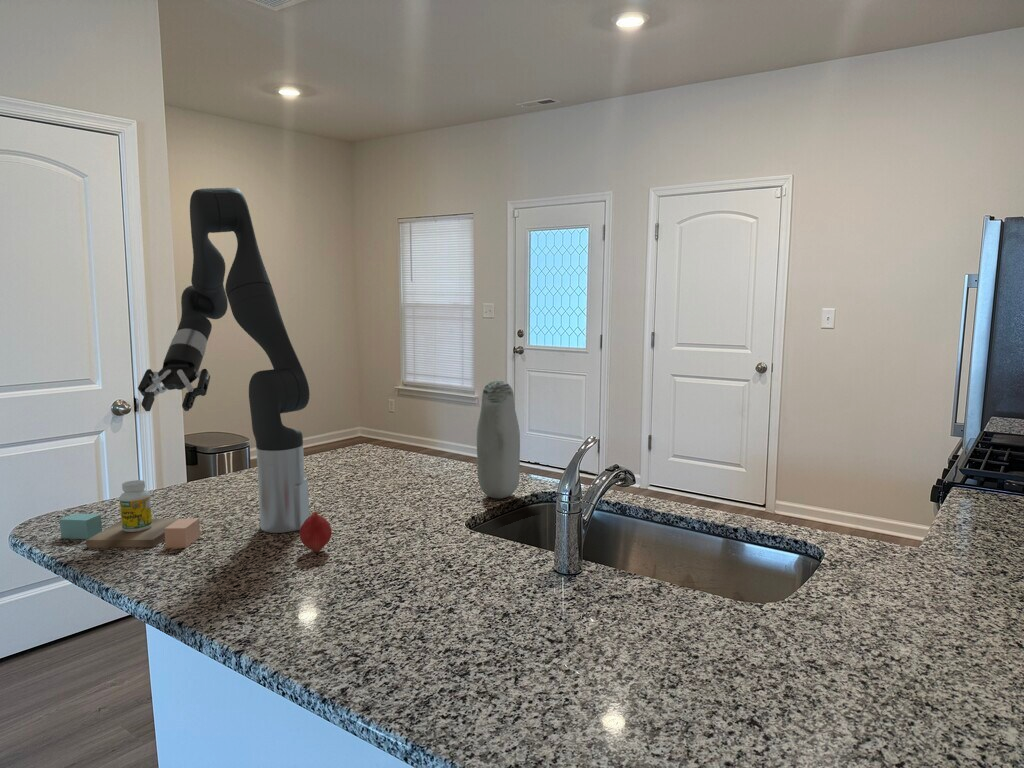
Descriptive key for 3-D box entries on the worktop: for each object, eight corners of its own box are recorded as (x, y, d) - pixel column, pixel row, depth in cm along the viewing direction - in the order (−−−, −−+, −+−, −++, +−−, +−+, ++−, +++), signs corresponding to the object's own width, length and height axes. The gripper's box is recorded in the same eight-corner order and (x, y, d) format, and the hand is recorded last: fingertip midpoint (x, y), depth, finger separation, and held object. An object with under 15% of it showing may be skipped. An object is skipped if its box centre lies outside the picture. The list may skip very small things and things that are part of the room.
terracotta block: (180, 537, 138) (179, 518, 138) (200, 537, 138) (199, 518, 138) (165, 548, 132) (164, 528, 132) (186, 548, 132) (185, 528, 132)
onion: (293, 554, 128) (291, 512, 127) (315, 544, 133) (313, 504, 132) (317, 559, 126) (315, 517, 125) (338, 549, 131) (337, 508, 130)
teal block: (102, 533, 142) (100, 514, 141) (87, 539, 138) (86, 520, 137) (76, 531, 143) (74, 513, 142) (61, 538, 139) (59, 519, 138)
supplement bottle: (156, 523, 142) (152, 478, 141) (146, 532, 137) (142, 485, 136) (128, 525, 141) (125, 479, 140) (117, 533, 136) (113, 486, 135)
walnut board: (185, 525, 146) (184, 518, 146) (153, 547, 133) (153, 539, 133) (123, 525, 146) (123, 519, 145) (86, 547, 133) (85, 540, 133)
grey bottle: (472, 494, 167) (470, 380, 164) (511, 489, 171) (510, 378, 167) (485, 505, 158) (483, 384, 155) (526, 500, 161) (525, 382, 158)
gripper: (148, 342, 157) (125, 399, 147) (211, 341, 157) (192, 398, 147) (161, 363, 163) (140, 419, 153) (222, 362, 163) (204, 418, 153)
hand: (165, 409), depth 150 cm, fingers open, 8 cm apart
